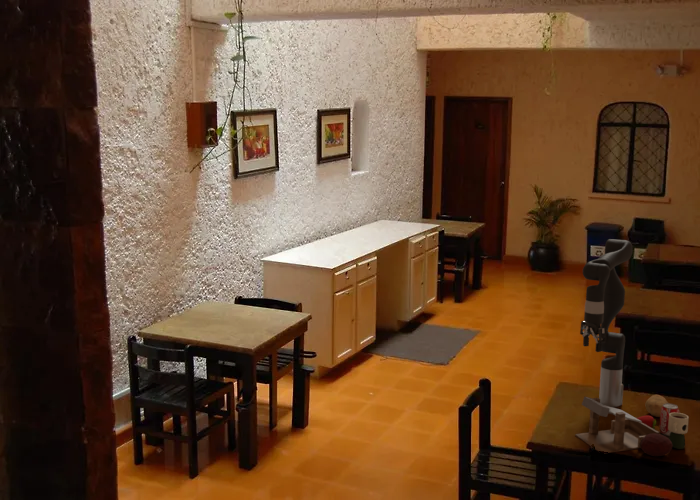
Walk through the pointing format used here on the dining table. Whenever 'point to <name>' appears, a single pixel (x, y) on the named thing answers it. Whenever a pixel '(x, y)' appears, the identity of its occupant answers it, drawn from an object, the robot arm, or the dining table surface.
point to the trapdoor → (604, 409)
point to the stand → (615, 433)
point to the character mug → (678, 429)
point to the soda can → (666, 417)
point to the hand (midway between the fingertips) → (591, 348)
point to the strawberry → (648, 421)
